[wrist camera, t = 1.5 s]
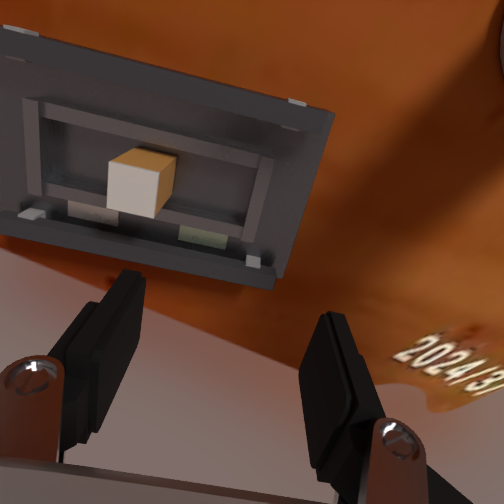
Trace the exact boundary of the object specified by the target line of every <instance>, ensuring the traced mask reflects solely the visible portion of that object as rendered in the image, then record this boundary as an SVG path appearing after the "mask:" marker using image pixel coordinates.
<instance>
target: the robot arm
mask: <svg viewBox="0 0 504 504" xmlns="http://www.w3.org/2000/svg"><path fill="white" fill-rule="evenodd" d="M500 58H501V63H502V69H503V74H504V22H503V27H502V32H501V38H500ZM145 287H146V277H141V272H137V271H133V270H128V269H124V270H123V271H122V272H121V274H120V275H119V276H118V278H117V279H116V281H115V282H114V283H113V285H112V286H111V288H110V289H109V290H108V292H107V293H106V295H105V296H104V298H103V299H102V300H101V302H100V303H97V302H92V301H90V302H88V303H87V304H86V305H85V306H84V308H83V309H82V310H81V312H80V313H79V314H78V315H77V317H76V318H75V319H74V321H73V322H72V323H71V325H70V326H69V327H68V328H67V330H66V331H65V332H64V334H63V335H62V336H61V338H60V339H59V340H58V341H57V343H56V344H55V345H54V347H53V348H52V349H51V351H50V352H49V353H48V355H47V356H45V355H35V356H30V357H25V358H23V359H20V360H17V361H15V362H13V363H12V364H10V365H9V366H7V367H6V368H5V369H4V370H3V371H2V372H1V373H0V504H327V503H321V502H315V501H309V500H302V499H296V498H290V497H284V496H277V495H271V494H264V493H258V492H252V491H245V490H238V489H232V488H226V487H219V486H213V485H206V484H200V483H193V482H187V481H180V480H174V479H167V478H160V477H153V476H146V475H140V474H133V473H127V472H119V471H113V470H106V469H100V468H93V467H86V466H79V465H71V464H64V462H65V451H66V450H68V449H69V448H71V447H74V446H75V445H76V444H77V443H82V444H86V443H87V440H88V439H89V436H90V434H91V432H94V433H98V431H99V429H100V427H101V425H102V423H103V421H104V418H105V416H106V414H107V412H108V410H109V407H110V405H111V403H112V401H113V399H114V397H115V394H116V392H117V390H118V388H119V385H120V383H121V381H122V379H123V377H124V374H125V372H126V370H127V368H128V366H129V363H130V361H131V359H132V356H133V354H134V352H135V350H136V348H137V345H138V342H139V338H140V330H141V321H142V313H143V304H144V295H145ZM299 385H300V392H301V399H302V407H303V414H304V421H305V429H306V436H307V443H308V451H309V457H310V464H311V467H312V468H314V469H316V473H317V480H318V481H319V482H326V483H330V484H331V486H332V487H333V489H334V490H335V495H334V500H333V504H473V503H472V502H471V501H470V500H468V499H467V498H466V497H465V496H464V495H462V494H461V493H460V492H459V491H458V490H456V489H455V488H454V487H453V486H452V485H451V484H449V483H448V482H447V481H446V480H445V479H444V478H442V477H441V476H440V475H439V474H438V473H437V472H435V471H434V470H433V469H432V468H431V467H429V466H428V465H427V464H426V452H425V448H424V445H423V444H422V442H421V440H420V438H419V437H418V436H417V435H416V433H415V432H414V431H413V430H412V429H410V428H409V427H408V426H407V425H405V424H404V423H402V422H401V421H398V420H396V419H393V418H386V416H385V413H384V410H383V408H382V405H381V402H380V400H379V397H378V395H377V392H376V389H375V387H374V384H373V381H372V379H371V376H370V373H369V371H368V368H367V366H366V363H365V360H364V358H363V356H362V355H360V354H359V353H358V350H357V347H356V344H355V342H354V339H353V336H352V334H351V331H350V328H349V325H348V323H347V320H346V317H345V315H344V314H340V313H335V312H331V311H328V312H327V313H326V315H325V314H322V315H321V316H320V318H319V321H318V323H317V326H316V328H315V331H314V333H313V336H312V338H311V341H310V343H309V346H308V348H307V350H306V353H305V355H304V358H303V360H302V363H301V365H300V368H299Z"/></svg>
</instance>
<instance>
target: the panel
mask: <svg viewBox="0 0 504 504" xmlns="http://www.w3.org/2000/svg"><path fill="white" fill-rule="evenodd" d="M0 27H3V26H1V25H0ZM3 28H4V27H3ZM39 37H41V38H45V39H49V40H53V41H57V42H60V43H64V44H68V45H72V46H76V47H80V48H83V49H87V50H91V51H95V52H99V53H103V54H106V55H110V56H114V57H118V58H122V59H126V60H129V61H133V62H137V63H141V64H145V65H149V66H152V67H156V68H160V69H164V70H168V71H172V72H175V73H179V74H183V75H187V76H191V77H195V78H198V79H202V80H206V81H210V82H214V83H218V84H221V85H225V86H229V87H233V88H237V89H241V90H244V91H248V92H252V93H256V94H260V95H264V96H267V97H271V98H275V99H279V100H283V101H286V99H282V98H279V97H275V96H271V95H267V94H263V93H259V92H256V91H252V90H248V89H244V88H240V87H236V86H233V85H229V84H225V83H221V82H217V81H213V80H210V79H206V78H202V77H198V76H194V75H191V74H187V73H183V72H179V71H175V70H171V69H168V68H164V67H160V66H156V65H152V64H148V63H145V62H141V61H137V60H133V59H129V58H125V57H122V56H118V55H114V54H110V53H106V52H102V51H99V50H95V49H91V48H87V47H83V46H80V45H76V44H72V43H68V42H64V41H60V40H57V39H53V38H49V37H45V36H41V35H39ZM306 107H310V108H314V109H317V110H321V111H325V112H327V113H328V114H327V117H326V121H325V124H324V127H323V130H322V133H321V135H318V134H314V133H311V132H307V131H303V130H299V132H298V131H294V130H290V129H286V128H282V127H281V125H279V124H275V123H271V122H267V121H263V120H259V119H255V118H251V117H248V116H244V115H240V114H236V113H232V112H228V111H224V110H220V109H216V108H212V107H208V106H204V105H200V104H196V103H192V102H188V101H185V100H181V99H177V98H173V97H169V96H165V95H161V94H157V93H153V92H149V91H145V90H141V89H137V88H133V87H129V86H126V85H122V84H118V83H114V82H110V81H106V80H102V79H98V78H94V77H90V76H86V75H82V74H78V73H74V72H70V71H66V70H63V69H59V68H55V67H51V66H47V65H43V64H39V63H27V62H22V61H18V60H14V59H10V58H6V55H3V54H0V212H2V211H4V210H8V211H13V212H18V213H21V212H23V211H25V210H27V209H28V208H34V209H39V210H43V211H45V217H46V219H50V220H55V221H60V222H64V223H69V224H73V225H78V226H83V227H87V228H92V229H97V230H101V231H106V232H111V233H115V234H120V235H125V236H129V237H134V238H138V239H143V240H148V241H152V242H157V243H162V244H166V245H171V246H176V247H180V248H185V249H190V250H194V251H199V252H203V253H208V254H213V255H217V256H222V257H227V258H231V259H236V260H241V261H245V259H246V256H247V255H251V256H255V257H260V265H264V266H268V267H273V268H276V274H277V278H280V279H282V278H283V275H284V272H285V269H286V266H287V263H288V260H289V257H290V253H291V250H292V247H293V244H294V241H295V238H296V235H297V232H298V229H299V225H300V222H301V219H302V216H303V213H304V210H305V207H306V204H307V201H308V197H309V194H310V191H311V188H312V185H313V182H314V179H315V176H316V173H317V170H318V166H319V163H320V160H321V157H322V154H323V151H324V148H325V145H326V142H327V138H328V135H329V132H330V129H331V126H332V123H333V120H334V117H335V113H333V112H330V111H328V110H324V109H321V108H317V107H313V106H309V105H306ZM135 147H141V148H145V149H149V150H153V151H158V152H162V153H166V154H170V155H174V156H177V160H176V168H175V175H174V182H173V190H172V195H171V196H170V197H169V199H168V200H167V201H166V203H165V204H164V205H163V207H162V208H161V209H160V211H159V212H158V213H157V215H156V216H155V217H154V219H153V218H149V217H144V216H140V215H135V214H131V213H126V212H122V211H117V210H113V209H108V208H107V188H108V167H109V161H111V160H113V159H115V158H117V157H118V156H120V155H122V154H124V153H126V152H128V151H129V150H131V149H133V148H135Z"/></svg>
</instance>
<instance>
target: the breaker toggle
mask: <svg viewBox="0 0 504 504" xmlns="http://www.w3.org/2000/svg"><path fill="white" fill-rule="evenodd" d="M176 160H177V156H174V155H170V154H166V153H162V152H158V151H153V150H149V149H145V148H141V147H135V148H133V149H131V150H129V151H128V152H126V153H124V154H122V155H120V156H118V157H117V158H115V159H113V160H111V161H109V167H108V188H107V208H108V209H113V210H117V211H122V212H126V213H131V214H135V215H140V216H144V217H149V218H153V219H154V217H155V216H156V215H157V213H158V212H159V211H160V209H161V208H162V207H163V205H164V204H165V203H166V201H167V200H168V199H169V197H170V196H171V195H172V190H173V182H174V175H175V168H176Z"/></svg>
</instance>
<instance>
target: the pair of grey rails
mask: <svg viewBox="0 0 504 504" xmlns="http://www.w3.org/2000/svg"><path fill="white" fill-rule="evenodd" d="M3 27H4V28H3ZM3 27H0V54H3V55H6V58H10V59H14V60H18V61H22V62H27V63H39V64H43V65H47V66H51V67H55V68H59V69H63V70H66V71H70V72H74V73H78V74H82V75H86V76H90V77H94V78H98V79H102V80H106V81H110V82H114V83H118V84H122V85H126V86H129V87H133V88H137V89H141V90H145V91H149V92H153V93H157V94H161V95H165V96H169V97H173V98H177V99H181V100H185V101H188V102H192V103H196V104H200V105H204V106H208V107H212V108H216V109H220V110H224V111H228V112H232V113H236V114H240V115H244V116H248V117H251V118H255V119H259V120H263V121H267V122H271V123H275V124H279V125H281V127H282V128H286V129H290V130H294V131H298V132H299V130H303V131H307V132H311V133H314V134H318V135H321V133H322V130H323V127H324V124H325V121H326V117H327V114H328V113H327V112H325V111H321V110H317V109H314V108H310V107H306V103H304V102H301V101H297V100H293V99H289V98H287V100H286V101H283V100H279V99H275V98H271V97H267V96H264V95H260V94H256V93H252V92H248V91H244V90H241V89H237V88H233V87H229V86H225V85H221V84H218V83H214V82H210V81H206V80H202V79H198V78H195V77H191V76H187V75H183V74H179V73H175V72H172V71H168V70H164V69H160V68H156V67H152V66H149V65H145V64H141V63H137V62H133V61H129V60H126V59H122V58H118V57H114V56H110V55H106V54H103V53H99V52H95V51H91V50H87V49H83V48H80V47H76V46H72V45H68V44H64V43H60V42H57V41H53V40H49V39H45V38H41V37H39V33H37V32H34V31H30V30H26V29H22V28H18V27H13V26H9V25H4V24H3ZM0 234H3V235H8V236H12V237H17V238H22V239H27V240H32V241H36V242H41V243H46V244H51V245H55V246H60V247H65V248H70V249H75V250H79V251H84V252H89V253H94V254H98V255H103V256H108V257H113V258H118V259H122V260H127V261H132V262H137V263H142V264H146V265H151V266H156V267H161V268H165V269H170V270H175V271H180V272H185V273H189V274H194V275H199V276H204V277H208V278H213V279H218V280H223V281H228V282H232V283H237V284H242V285H247V286H252V287H256V288H261V289H266V290H271V291H272V290H273V287H274V284H275V281H276V278H277V274H276V268H273V267H268V266H264V265H260V257H255V256H251V255H247V256H246V259H245V261H241V260H236V259H231V258H227V257H222V256H217V255H213V254H208V253H203V252H199V251H194V250H190V249H185V248H180V247H176V246H171V245H166V244H162V243H157V242H152V241H148V240H143V239H138V238H134V237H129V236H125V235H120V234H115V233H111V232H106V231H101V230H97V229H92V228H87V227H83V226H78V225H73V224H69V223H64V222H60V221H55V220H50V219H46V217H45V211H43V210H39V209H34V208H28V209H27V210H25V211H23V212H21V213H18V212H13V211H8V210H4V211H2V212H0Z"/></svg>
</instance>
